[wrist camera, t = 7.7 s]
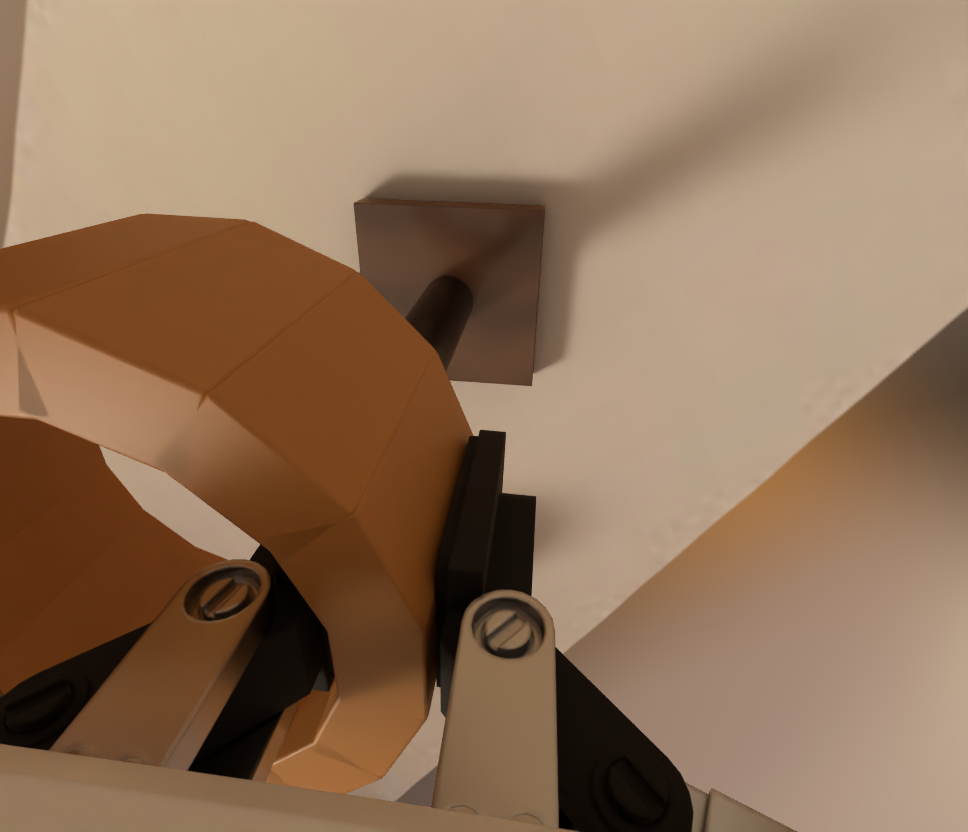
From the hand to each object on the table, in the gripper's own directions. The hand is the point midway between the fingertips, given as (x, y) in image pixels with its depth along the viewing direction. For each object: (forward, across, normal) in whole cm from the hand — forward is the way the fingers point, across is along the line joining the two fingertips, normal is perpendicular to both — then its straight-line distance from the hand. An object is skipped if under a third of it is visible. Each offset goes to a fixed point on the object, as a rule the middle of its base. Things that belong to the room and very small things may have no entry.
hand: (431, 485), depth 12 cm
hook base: (+21, +3, +2) cm, 22 cm away
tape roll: (+1, +4, 0) cm, 4 cm away
